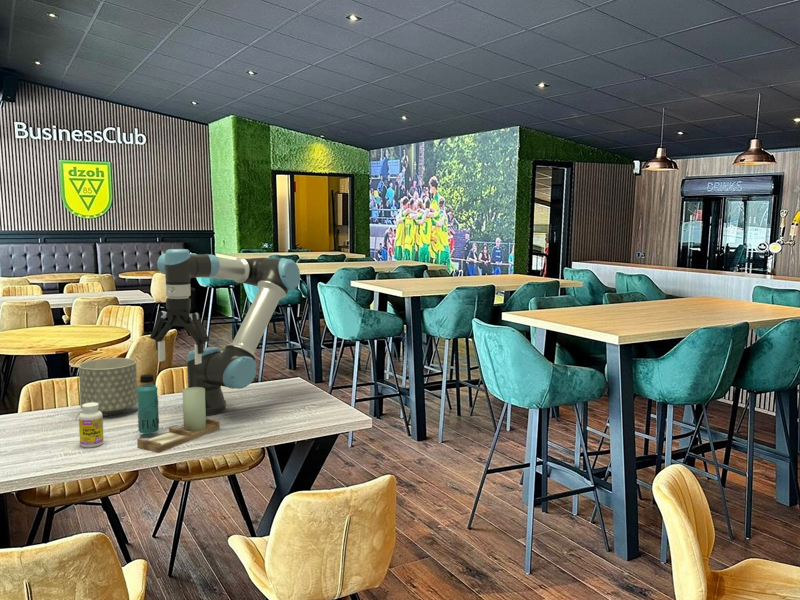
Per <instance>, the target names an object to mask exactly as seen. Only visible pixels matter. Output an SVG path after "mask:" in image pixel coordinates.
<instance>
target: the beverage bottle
mask: <svg viewBox="0 0 800 600" xmlns="http://www.w3.org/2000/svg"><path fill="white" fill-rule="evenodd" d="M154 381H155V379H154V374H151V373H149V374H148V373H147V374H146V373H145V374H141V375H140V377H139V382H140V383H141V384H142V385H140V386H138V387H137V396H138V402H137V410H138V411H137V428H138V432H139V433H140V434H142V435H143V434H145V435H147V434H154V433H157V432H158V431H159V429H160V427H159V426H160V417H159V414H160V413H159V398H158V397H159V395H158V387H157V386H156V385H155V384H153V382H154Z"/></svg>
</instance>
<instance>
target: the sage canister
mask: <svg viewBox="0 0 800 600" xmlns="http://www.w3.org/2000/svg"><path fill="white" fill-rule="evenodd" d="M182 411H183V412H182V415H183V427H184V430H187V431H191V432H194V431H201V430H204V429H205V428H206V419H207V417H206V416H207V415H206V409H205V388H202V387H190V388H188V387H187V388H183V389H182Z"/></svg>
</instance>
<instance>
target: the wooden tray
mask: <svg viewBox="0 0 800 600" xmlns="http://www.w3.org/2000/svg"><path fill="white" fill-rule="evenodd" d="M220 424H221V423H220V420H215V419H211V418H206V428H205V429H204V430H201V431H194V432H191V431H187V430H184V426H180V427H178V428H177V427H173V426H170V427H168V432H164V433H162V434H159V435H156V436H153V437H151V438H147V439H145V438H141V437H140V438H137V441H136V442H137V448H138V449H141V450H146V451H150V452H154V453H161V452H164V451H166V450H169V449H171V448H174V447H177V446H180V445H182V444H184V443H187V442H191V441H193V440H195V439H197V438H200V437H203V436H206V435H209V434H210V433H213V432H216V431H218V430H220V429H221V427H220V426H221V425H220Z"/></svg>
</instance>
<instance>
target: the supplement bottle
mask: <svg viewBox="0 0 800 600" xmlns="http://www.w3.org/2000/svg"><path fill="white" fill-rule="evenodd" d="M98 408H99V404H98V403H94V402H92V403H85V404H83V405H82V409H81V410H82V412H81V413H80V414H79V416H78V427H79V429H78V430H79V431H78V432H79V445H80V446H81V447H83V448H97V447H99V446H101V445H103V443H104V420H103V419H104V415H102V412H101V411H98Z"/></svg>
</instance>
